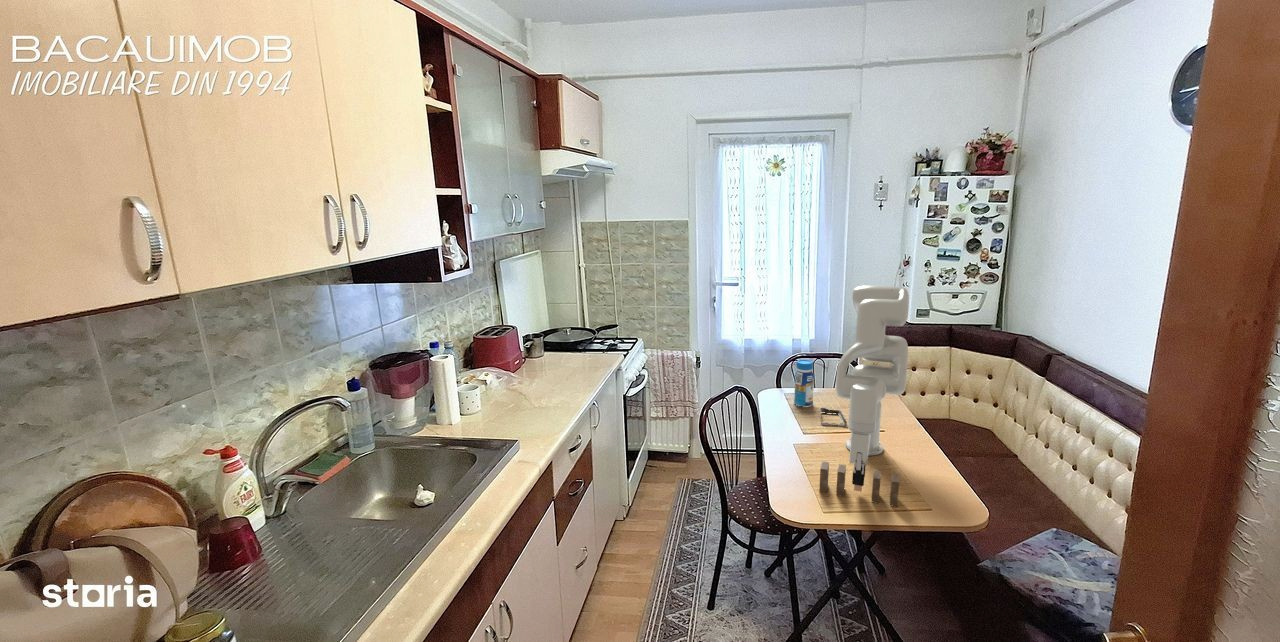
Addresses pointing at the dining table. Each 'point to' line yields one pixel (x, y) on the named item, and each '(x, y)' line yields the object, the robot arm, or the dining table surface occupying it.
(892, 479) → the domino
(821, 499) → the dining table surface
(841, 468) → the domino
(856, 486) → the domino
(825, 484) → the domino
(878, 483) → the domino
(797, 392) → the blue wipes canister
